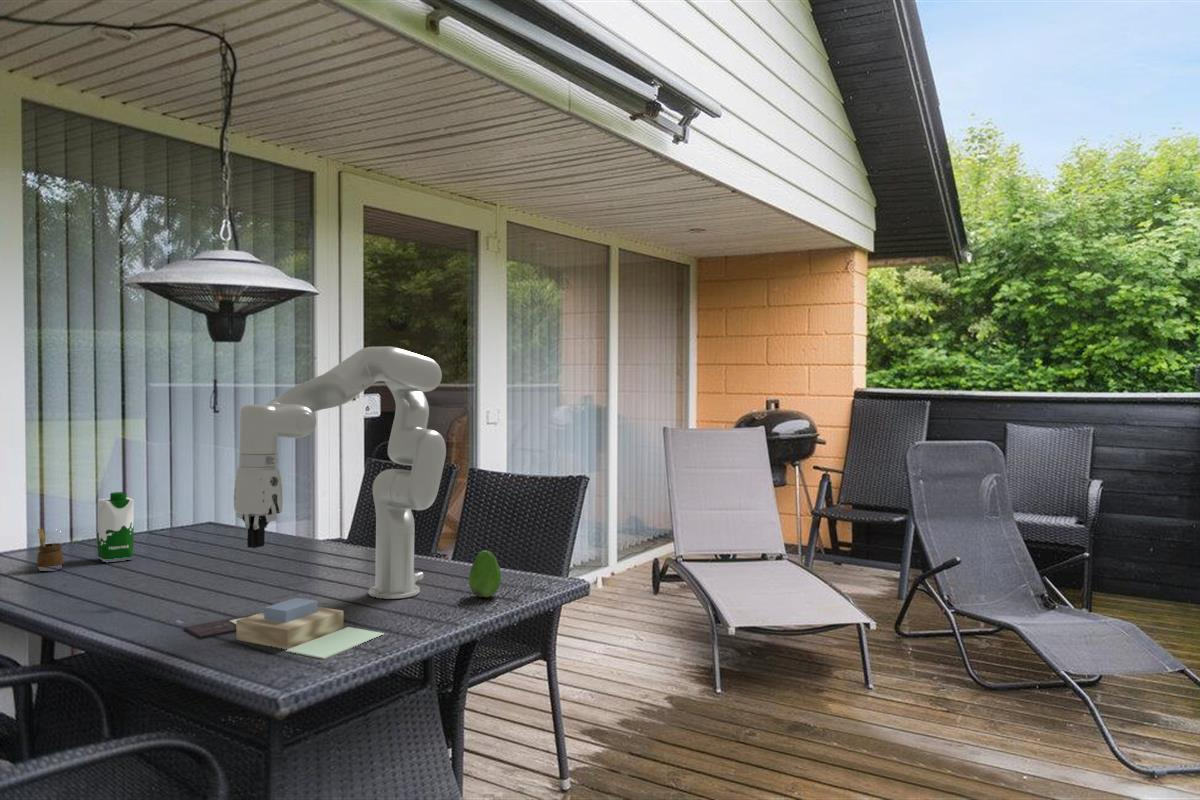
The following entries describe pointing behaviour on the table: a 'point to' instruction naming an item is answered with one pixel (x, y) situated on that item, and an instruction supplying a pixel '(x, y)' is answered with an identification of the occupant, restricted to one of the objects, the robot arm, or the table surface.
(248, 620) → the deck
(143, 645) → the table surface
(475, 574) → the avocado
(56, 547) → the utensil holder
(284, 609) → the blue-grey foam block
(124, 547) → the milk carton
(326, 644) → the mat
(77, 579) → the table surface
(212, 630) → the chocolate bar
